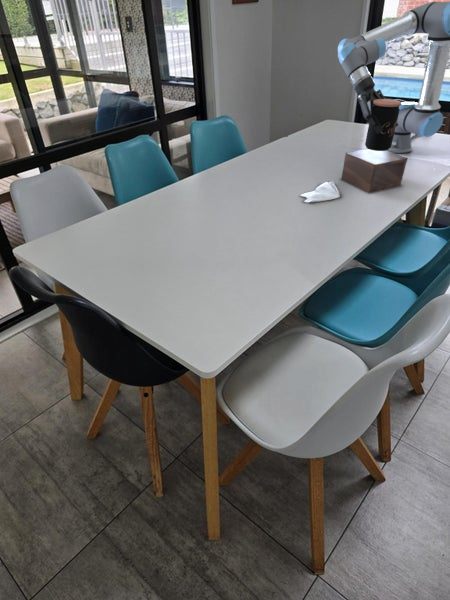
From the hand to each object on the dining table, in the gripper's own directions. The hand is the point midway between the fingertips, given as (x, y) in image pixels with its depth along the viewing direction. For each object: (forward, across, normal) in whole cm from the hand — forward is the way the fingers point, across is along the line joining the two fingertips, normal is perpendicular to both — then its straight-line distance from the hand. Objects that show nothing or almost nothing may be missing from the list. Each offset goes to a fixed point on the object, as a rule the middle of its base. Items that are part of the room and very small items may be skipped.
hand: (387, 129), depth 168 cm
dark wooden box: (+14, 0, -18) cm, 23 cm away
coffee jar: (+4, 0, -8) cm, 9 cm away
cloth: (+10, +25, -23) cm, 35 cm away
